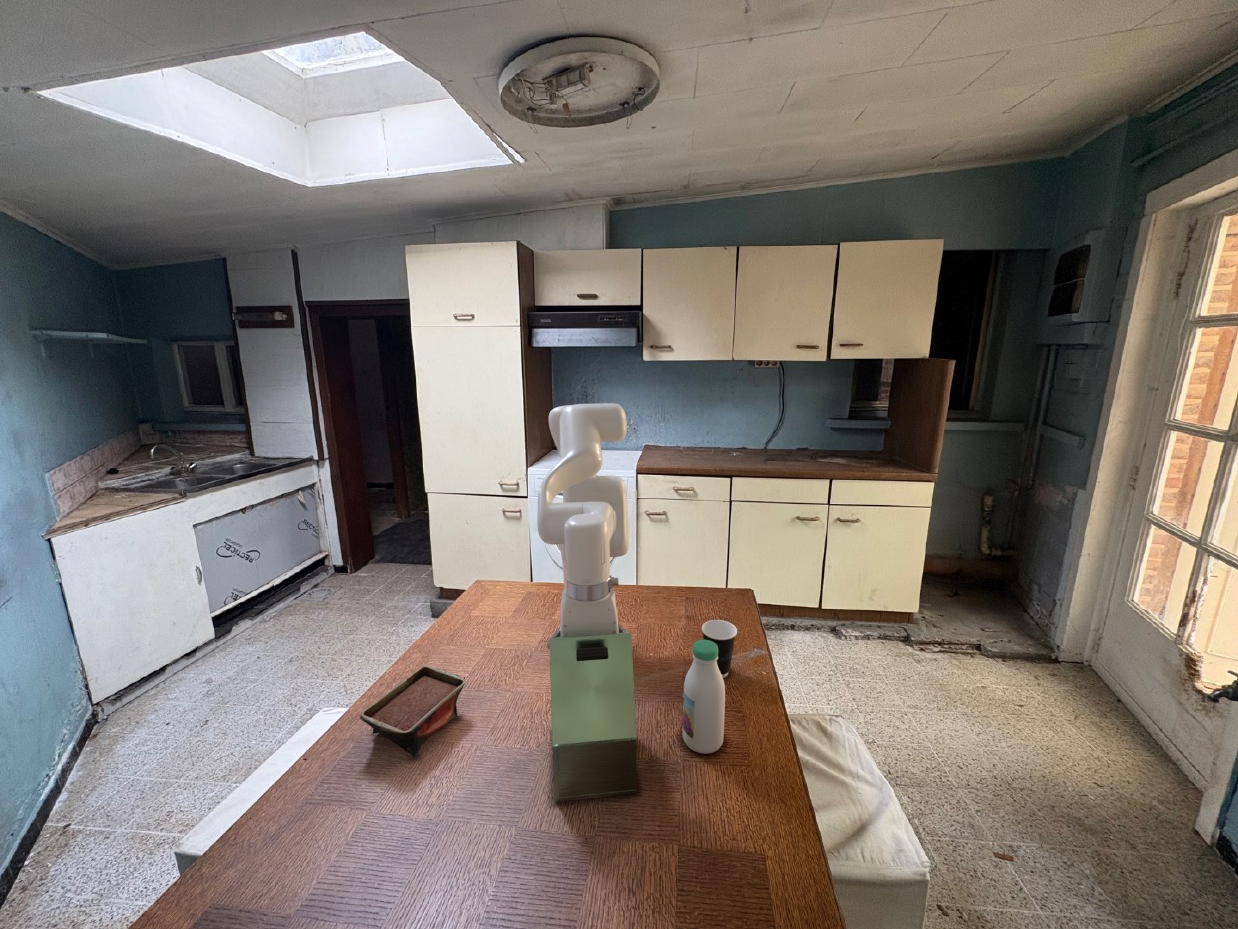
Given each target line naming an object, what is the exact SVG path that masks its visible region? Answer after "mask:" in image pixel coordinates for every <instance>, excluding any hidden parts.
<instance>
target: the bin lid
mask: <svg viewBox="0 0 1238 929" xmlns="http://www.w3.org/2000/svg"><path fill="white" fill-rule="evenodd" d="M632 638H633V636H632V632H631V631H627V632H626V633H612V634H597V635H583V636H569V637H555V638H551V637H549V639H548V640H549V646H550V649H549V678H550V711H551V712H550V713H551V744H552V746H553V745H561V744H572V743H583V742H594V741H605V740H615V739H626V738H636V739H637V737H638V735H637V714H636V696H635V678H634V659H633V639H632Z"/></svg>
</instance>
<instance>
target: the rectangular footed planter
mask: <svg viewBox="0 0 1238 929" xmlns="http://www.w3.org/2000/svg"><path fill="white" fill-rule="evenodd" d="M465 685H466V680H465V679H464V678H463V677H462V676H460V675H458V674H455V673H453V672H451V671H447V670H445V669H441V668H439V667H434V666H429V665H423V666H420V667H419V668H417V669H415V670H414V671H413V672H412V673H411V674H410V675H408V676H407V677H406V678H404V679H403V680H402V681H401V682H399V683H398V684H397V685H396V686H394V687H393V688H392V689H390V690H389V691H388V692H386V693H385V694H384V695H382V696H381V697H380V698H378V699H377V700H375V701H374V702H373V703H372V704H370V705H369V706H368V707H366V708H365V709H364V710H363V711H362V712H361V713H360V716H359V719H360V720H361V721H362V722H364V723H365V724H367V725H368V726H369V727H371V728H372V733H371V735H375V734H380V735H382V736H383V737H385V738H386V739H388V740H389V741H391V742H392V743H393V744H395V745H396V746H397V747H399V748H400V749H402V750H403V751H404V752H406V753H408V754H409V755H411V756H412V757H414V758H415V757H417V754H418V752H419V751H420V749H421V747H422V746H423V745H424V743H425V742H426V741H427V739H428V738H429V737H430V736H431V735H432V733H433V732H435V731H438V730H440V729H441V728H443V727H444V726H446V724H448V723H449V722H450V721H451V720H452V719H454V718H458V709H457V702H458V699H459V697H460V695H461V692H462V690H463V689H464V687H465Z"/></svg>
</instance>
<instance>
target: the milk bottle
mask: <svg viewBox="0 0 1238 929" xmlns="http://www.w3.org/2000/svg"><path fill="white" fill-rule="evenodd" d="M692 658H693V660H692V663H691V666H690V667H689V669H688V671H687V672H686V675H685V678H684V683H683V691H682V692H683V695H682V739H683V742H684V743H685V746H687V747H688V749H690V750H692V751H693V752H696V753H698V754H705V755H706V754H707V755H708V754H712V753H715V752H717V751H718V750H720V748H721V747H722V745H723V743H724V732H725V714H726V713H725V709H726V686H725V681H724V678H723V677H722V675H721V673H720V671H719V668H718V665H717V659H718V646H717V645H716V644H715V643H714V642H712V641H709V640H704V639H699V640H696V641H695V642H694V643H693V644H692Z"/></svg>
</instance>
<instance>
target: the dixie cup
mask: <svg viewBox="0 0 1238 929" xmlns="http://www.w3.org/2000/svg"><path fill="white" fill-rule="evenodd" d="M701 632H702V637H703V639H702V640H709V641H712V642H714V643H715V644H716V645H717V646H718V659H717V665H718V668H719V671H720V673H721V675H722V677H723V679H724V678H727V676H728V675H729V672H730V670H731V665H732V658H733V652H734V647H735V641H736V636H737V634H738V628H737V627H736V626H735V625H734V624H733V623H731V622H729V621H726V620H722V619H710V620H707V621H705V622H704V623H703V624H702V625H701Z"/></svg>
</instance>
